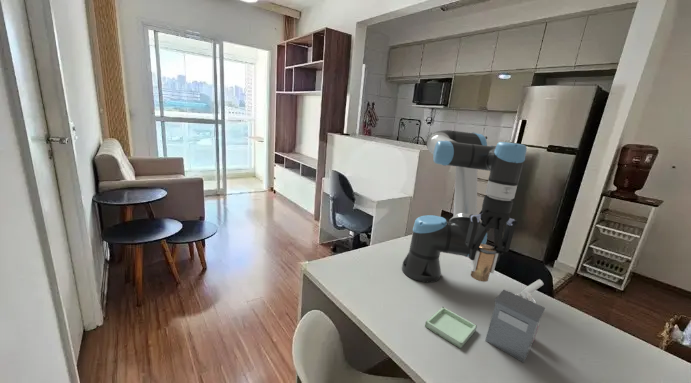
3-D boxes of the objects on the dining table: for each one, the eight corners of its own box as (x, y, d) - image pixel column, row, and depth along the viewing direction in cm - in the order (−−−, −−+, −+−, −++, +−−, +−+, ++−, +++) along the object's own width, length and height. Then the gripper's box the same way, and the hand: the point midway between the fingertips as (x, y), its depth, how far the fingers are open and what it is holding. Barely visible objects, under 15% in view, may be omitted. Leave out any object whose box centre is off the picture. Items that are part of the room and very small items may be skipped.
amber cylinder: (474, 281, 88) (481, 250, 85) (467, 271, 93) (473, 242, 90) (492, 282, 88) (500, 252, 85) (483, 273, 93) (491, 244, 91)
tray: (424, 326, 88) (425, 321, 87) (441, 311, 95) (442, 306, 95) (460, 348, 80) (461, 343, 80) (475, 330, 88) (477, 325, 88)
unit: (483, 340, 85) (495, 299, 81) (492, 328, 90) (503, 289, 86) (524, 364, 78) (539, 320, 74) (531, 349, 83) (545, 307, 79)
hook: (560, 299, 100) (550, 290, 98) (529, 318, 104) (519, 310, 101) (545, 283, 107) (535, 274, 104) (517, 301, 111) (507, 293, 108)
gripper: (474, 197, 80) (456, 273, 86) (538, 204, 81) (516, 279, 86) (463, 190, 87) (447, 261, 93) (521, 196, 88) (503, 266, 94)
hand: (481, 269), depth 90 cm, fingers closed on amber cylinder, 5 cm apart
